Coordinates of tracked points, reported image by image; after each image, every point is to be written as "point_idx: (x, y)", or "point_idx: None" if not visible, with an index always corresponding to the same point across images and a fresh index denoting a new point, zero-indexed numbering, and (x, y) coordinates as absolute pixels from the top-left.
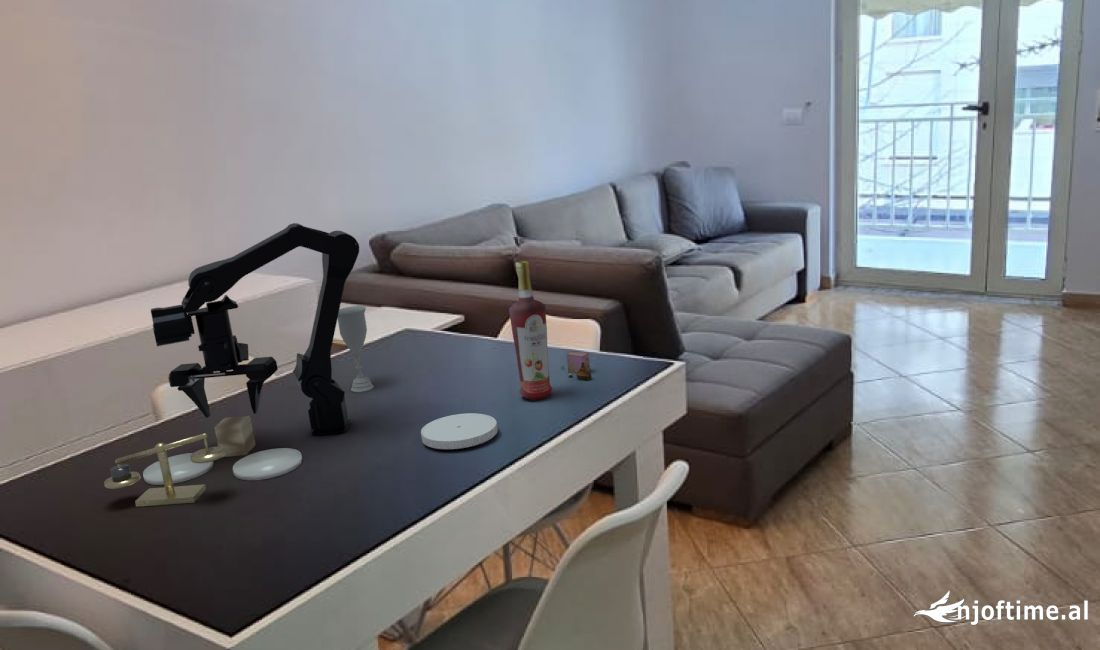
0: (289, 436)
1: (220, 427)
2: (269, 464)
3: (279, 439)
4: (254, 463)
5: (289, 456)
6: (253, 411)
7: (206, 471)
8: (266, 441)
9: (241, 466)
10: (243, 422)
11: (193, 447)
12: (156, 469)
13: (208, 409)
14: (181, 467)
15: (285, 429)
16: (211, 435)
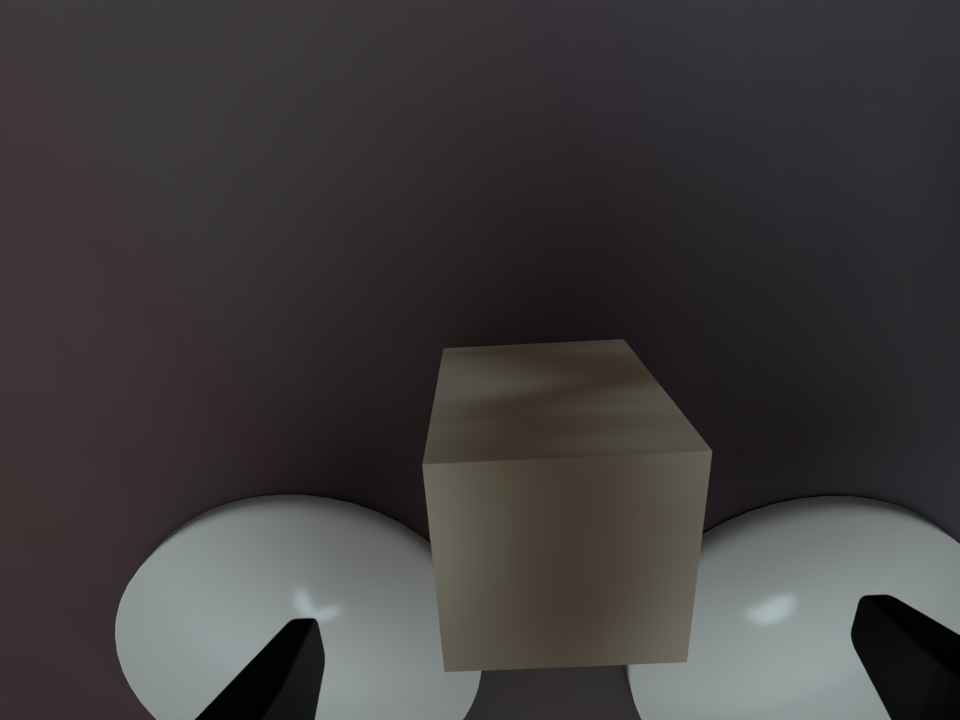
0: (851, 207)
1: (499, 663)
2: (830, 696)
3: (781, 260)
4: (743, 679)
5: None
6: (877, 680)
7: None
8: (687, 285)
9: (680, 701)
10: (692, 603)
11: (153, 323)
12: (200, 689)
13: (290, 697)
14: (336, 684)
15: (791, 21)
16: (130, 71)
